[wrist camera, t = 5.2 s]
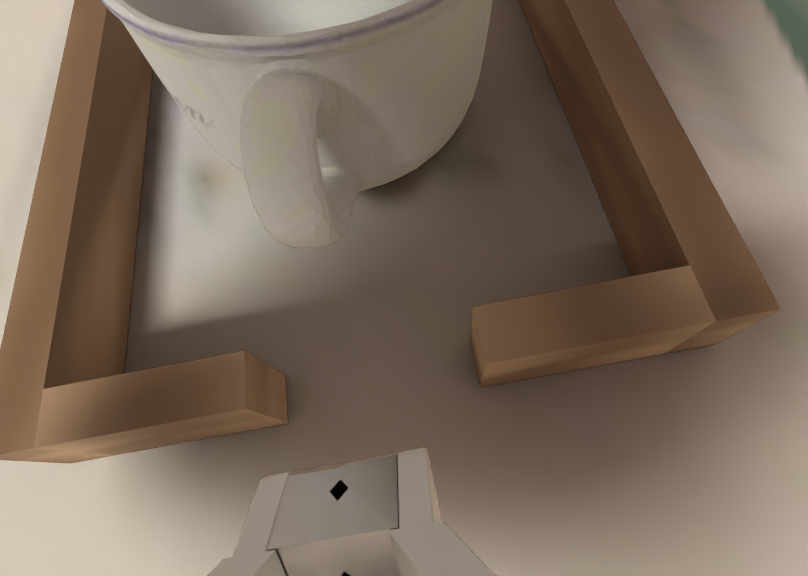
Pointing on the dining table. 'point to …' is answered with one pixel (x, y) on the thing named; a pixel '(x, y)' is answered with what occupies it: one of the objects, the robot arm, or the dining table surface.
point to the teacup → (315, 92)
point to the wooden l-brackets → (262, 384)
